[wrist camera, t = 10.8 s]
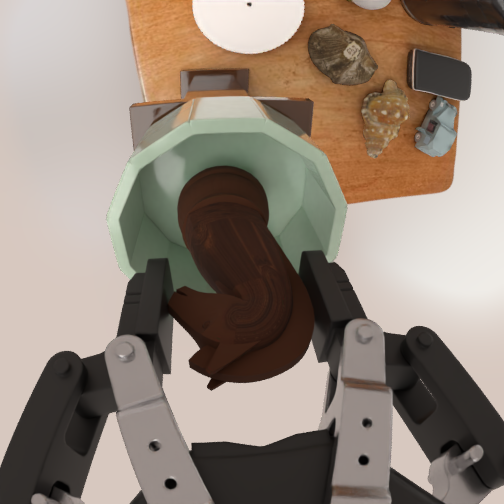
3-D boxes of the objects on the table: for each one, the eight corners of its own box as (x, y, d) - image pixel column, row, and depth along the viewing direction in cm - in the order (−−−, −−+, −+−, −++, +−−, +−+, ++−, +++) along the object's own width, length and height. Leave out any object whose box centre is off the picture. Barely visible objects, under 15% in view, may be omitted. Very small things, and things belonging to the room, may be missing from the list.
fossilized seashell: (386, 70, 38) (347, 13, 34) (384, 82, 34) (339, 16, 30) (344, 90, 43) (305, 37, 39) (336, 104, 39) (292, 44, 35)
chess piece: (175, 165, 15) (143, 334, 7) (280, 164, 16) (353, 323, 8) (180, 242, 18) (170, 414, 10) (271, 240, 18) (315, 405, 10)
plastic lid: (210, 65, 38) (210, 66, 36) (180, -23, 29) (179, -27, 27) (310, 41, 37) (315, 41, 35) (284, -46, 28) (288, -50, 26)
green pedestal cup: (174, 65, 37) (88, 131, 10) (253, 63, 38) (362, 123, 12) (177, 137, 43) (135, 322, 17) (252, 134, 45) (324, 310, 18)
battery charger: (403, 88, 42) (458, 100, 42) (414, 90, 38) (470, 103, 39) (404, 48, 38) (460, 62, 38) (416, 47, 35) (473, 64, 35)
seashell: (390, 126, 48) (399, 168, 44) (346, 112, 48) (351, 153, 43) (413, 87, 40) (430, 127, 36) (367, 69, 40) (378, 107, 35)
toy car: (449, 104, 43) (466, 113, 40) (427, 152, 49) (442, 163, 45) (424, 88, 42) (442, 95, 38) (401, 139, 47) (417, 150, 43)
